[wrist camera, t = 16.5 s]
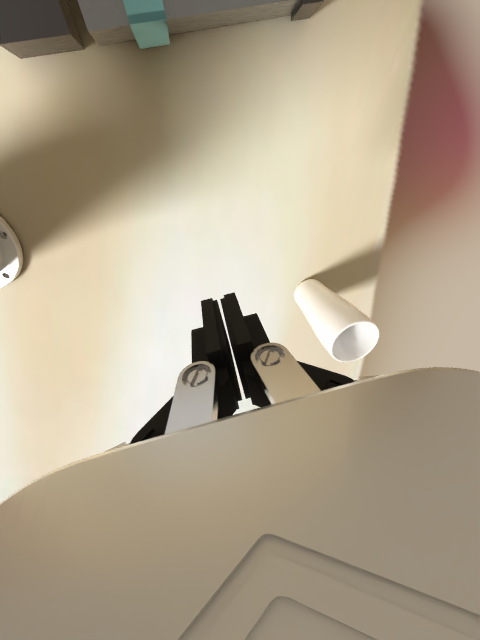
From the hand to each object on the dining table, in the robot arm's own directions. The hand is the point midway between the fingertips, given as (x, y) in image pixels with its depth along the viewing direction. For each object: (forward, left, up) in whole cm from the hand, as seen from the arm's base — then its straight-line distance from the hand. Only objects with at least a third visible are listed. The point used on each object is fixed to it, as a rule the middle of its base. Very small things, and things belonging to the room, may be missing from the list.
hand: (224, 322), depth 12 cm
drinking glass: (+15, -15, -26) cm, 34 cm away
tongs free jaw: (+5, +19, -26) cm, 32 cm away
